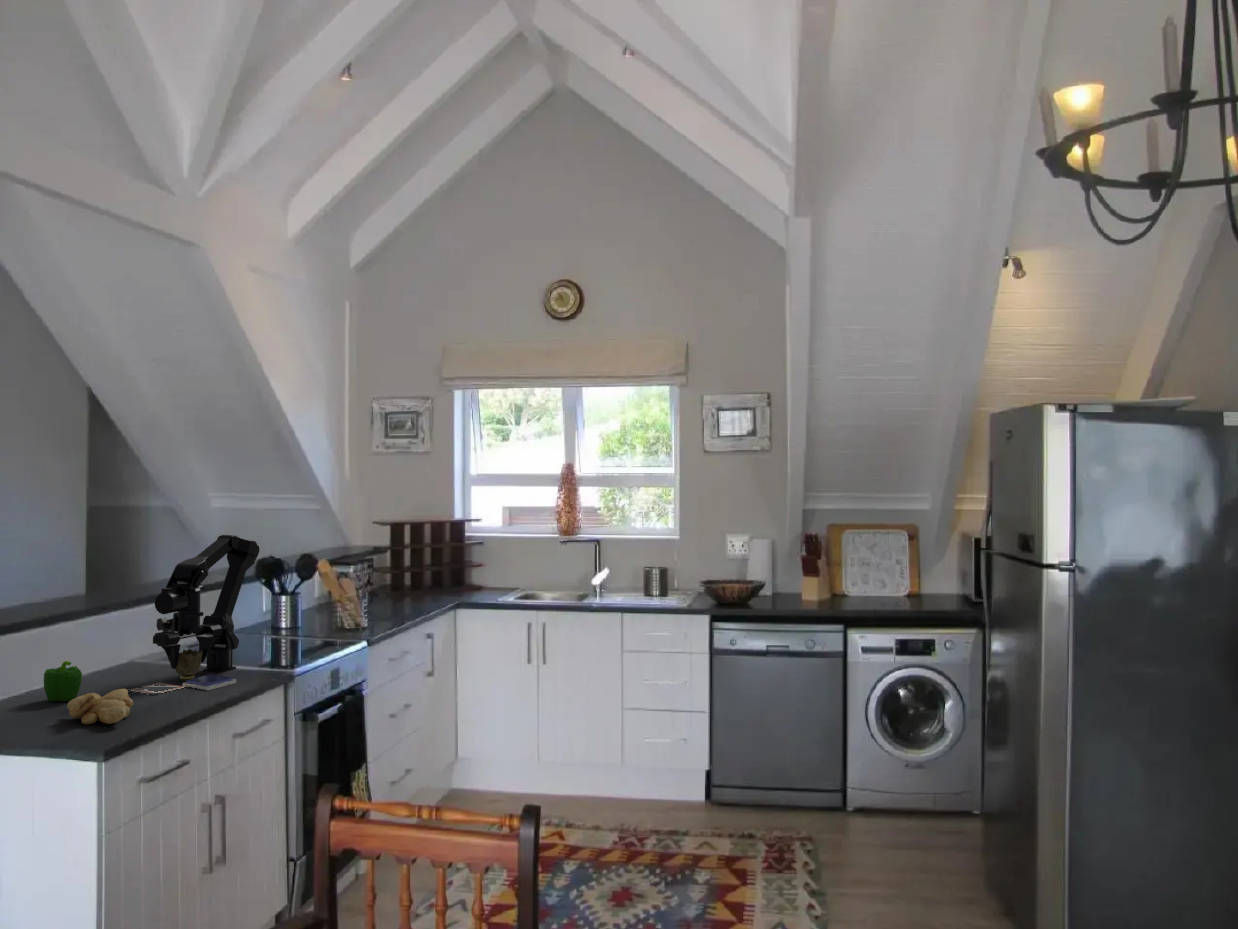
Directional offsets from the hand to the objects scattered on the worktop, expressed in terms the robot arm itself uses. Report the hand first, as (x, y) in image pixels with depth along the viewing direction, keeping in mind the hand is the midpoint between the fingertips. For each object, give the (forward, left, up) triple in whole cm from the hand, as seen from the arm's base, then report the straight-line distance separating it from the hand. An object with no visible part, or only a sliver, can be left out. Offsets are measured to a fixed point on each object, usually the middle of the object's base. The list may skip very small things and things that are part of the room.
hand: (187, 665), depth 262 cm
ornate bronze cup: (0, 0, -4) cm, 4 cm away
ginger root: (+38, +15, -4) cm, 41 cm away
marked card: (+11, +2, -4) cm, 12 cm away
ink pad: (+1, +9, -4) cm, 10 cm away
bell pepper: (+30, -9, -4) cm, 32 cm away
